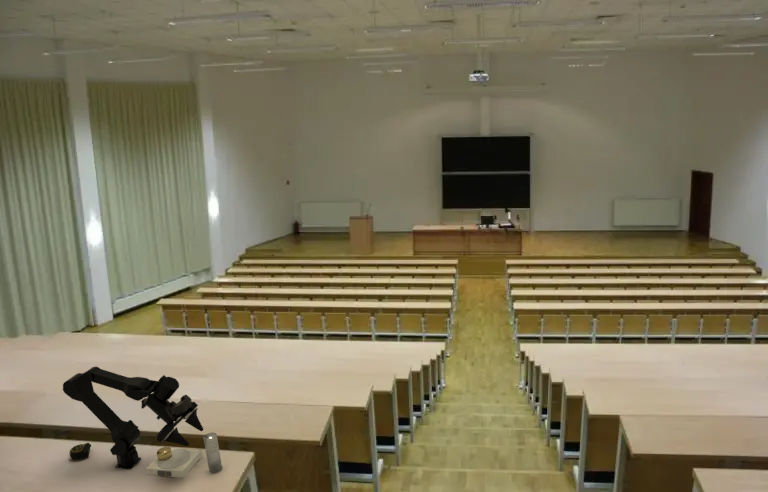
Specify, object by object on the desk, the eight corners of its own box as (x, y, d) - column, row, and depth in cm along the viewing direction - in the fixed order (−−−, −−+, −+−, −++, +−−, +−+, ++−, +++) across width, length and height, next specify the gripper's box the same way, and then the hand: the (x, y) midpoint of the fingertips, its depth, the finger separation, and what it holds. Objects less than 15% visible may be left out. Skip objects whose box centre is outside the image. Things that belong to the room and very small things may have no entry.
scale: (146, 475, 206) (145, 467, 205) (167, 454, 218) (166, 446, 217) (182, 478, 202) (180, 470, 202) (201, 457, 214) (200, 449, 213)
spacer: (206, 472, 205) (201, 439, 202) (213, 464, 209) (207, 432, 206) (218, 473, 204) (212, 440, 200) (224, 465, 208) (219, 432, 205)
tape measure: (89, 459, 219) (87, 450, 218) (69, 464, 217) (67, 455, 216) (92, 449, 225) (90, 441, 224) (72, 454, 223) (70, 445, 222)
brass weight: (155, 460, 209) (153, 454, 208) (163, 452, 213) (161, 446, 213) (167, 461, 207) (165, 455, 207) (174, 453, 212) (173, 447, 211)
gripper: (157, 407, 193) (193, 439, 193) (188, 380, 211) (221, 409, 211) (141, 427, 197) (176, 458, 197) (173, 399, 215) (205, 428, 215)
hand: (195, 437), depth 205 cm, fingers open, 9 cm apart
